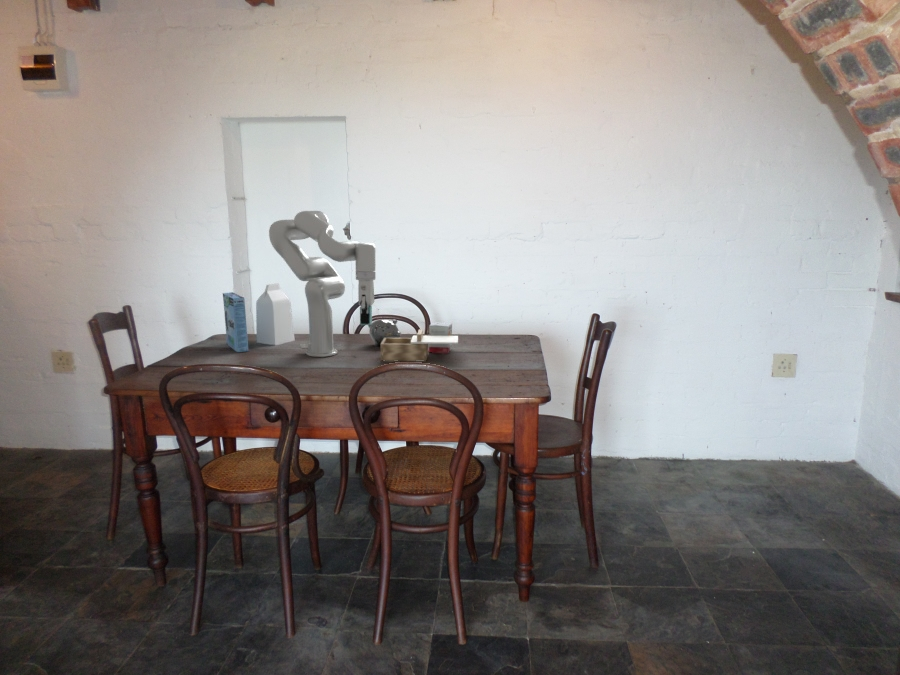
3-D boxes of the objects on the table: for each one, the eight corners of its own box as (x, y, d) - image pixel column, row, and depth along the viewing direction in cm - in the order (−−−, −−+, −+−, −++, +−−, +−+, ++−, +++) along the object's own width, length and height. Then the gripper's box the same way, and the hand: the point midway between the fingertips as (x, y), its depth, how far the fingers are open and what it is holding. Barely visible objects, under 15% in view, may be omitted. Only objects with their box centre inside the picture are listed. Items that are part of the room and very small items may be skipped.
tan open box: (380, 361, 249) (380, 344, 248) (384, 354, 261) (384, 337, 259) (426, 361, 249) (426, 344, 247) (427, 354, 260) (427, 338, 259)
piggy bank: (396, 349, 270) (395, 322, 268) (363, 346, 274) (363, 320, 272) (404, 343, 281) (404, 318, 278) (373, 341, 285) (373, 316, 282)
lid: (410, 343, 247) (410, 335, 246) (413, 337, 259) (412, 328, 259) (457, 344, 247) (457, 335, 246) (458, 337, 259) (458, 329, 258)
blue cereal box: (248, 351, 265) (245, 297, 260) (236, 352, 262) (232, 298, 258) (237, 342, 281) (234, 291, 276) (225, 344, 279) (222, 292, 274)
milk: (275, 345, 276) (272, 286, 271) (256, 342, 282) (253, 284, 277) (294, 340, 287) (291, 283, 281) (276, 337, 292) (273, 281, 287)
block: (360, 324, 243) (359, 307, 242) (361, 322, 247) (361, 305, 246) (370, 325, 243) (370, 307, 242) (371, 323, 247) (371, 305, 246)
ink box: (448, 353, 262) (448, 325, 260) (428, 352, 264) (428, 325, 262) (452, 349, 271) (452, 322, 268) (432, 348, 272) (432, 321, 270)
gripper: (372, 278, 233) (372, 327, 237) (378, 273, 249) (378, 318, 253) (352, 278, 233) (352, 326, 237) (359, 272, 249) (359, 318, 253)
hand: (365, 321), depth 245 cm, fingers closed on block, 4 cm apart
